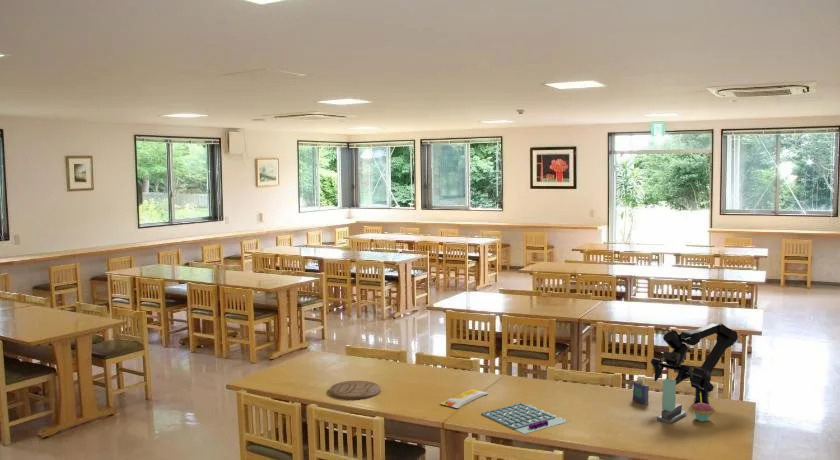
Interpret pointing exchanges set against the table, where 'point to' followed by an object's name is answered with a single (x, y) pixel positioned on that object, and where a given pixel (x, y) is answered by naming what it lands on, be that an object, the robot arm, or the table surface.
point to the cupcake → (702, 410)
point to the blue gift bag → (640, 392)
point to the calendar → (524, 418)
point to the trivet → (354, 390)
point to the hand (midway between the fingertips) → (664, 383)
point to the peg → (669, 394)
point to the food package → (464, 398)
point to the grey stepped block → (672, 414)
